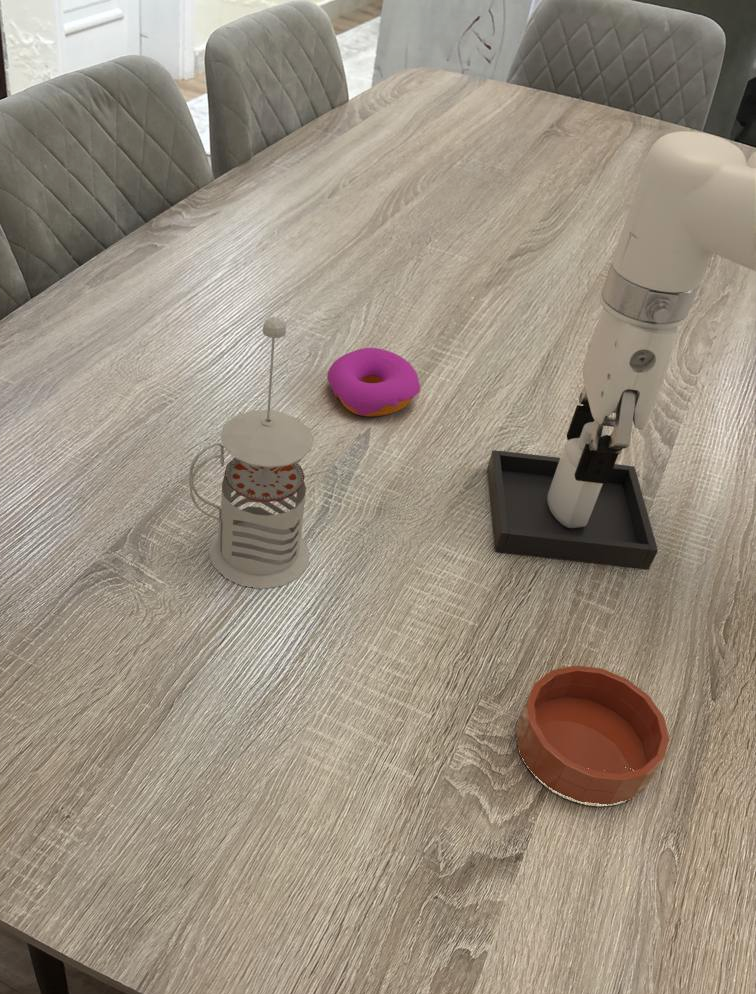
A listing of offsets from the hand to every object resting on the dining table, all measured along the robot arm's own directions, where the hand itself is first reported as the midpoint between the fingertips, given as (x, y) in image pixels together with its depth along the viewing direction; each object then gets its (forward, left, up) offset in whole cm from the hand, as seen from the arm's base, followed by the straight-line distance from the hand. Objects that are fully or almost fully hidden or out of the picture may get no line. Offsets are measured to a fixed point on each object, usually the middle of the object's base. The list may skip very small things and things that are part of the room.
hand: (586, 458), depth 93 cm
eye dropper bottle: (0, 0, -7) cm, 7 cm away
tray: (0, 0, -8) cm, 8 cm away
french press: (+32, +11, -8) cm, 35 cm away
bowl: (+2, +30, -8) cm, 31 cm away
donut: (+21, -18, -8) cm, 29 cm away
